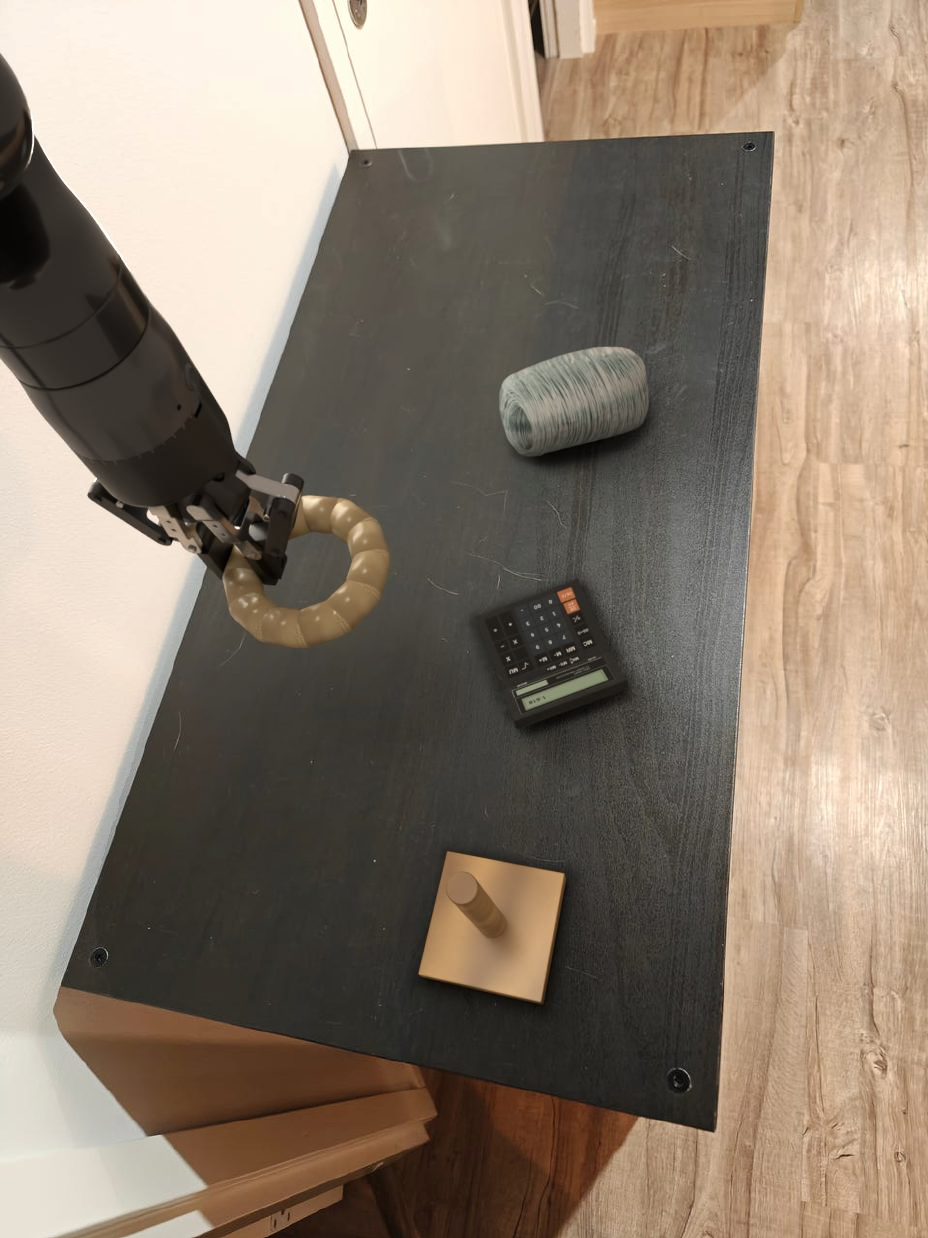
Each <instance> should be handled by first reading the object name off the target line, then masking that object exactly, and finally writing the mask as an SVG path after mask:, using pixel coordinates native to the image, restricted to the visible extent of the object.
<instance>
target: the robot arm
mask: <svg viewBox="0 0 928 1238" xmlns="http://www.w3.org/2000/svg"><path fill="white" fill-rule="evenodd" d="M34 131H35V128H34V121H33V115H32V111H31V107H30V104H29V102H28V99H27V96H26V93H25V91H24V89H23V87H22V84H21V82H20V80H19V78H18V77H17V75H16V73H15V71H14V70H13V68H12V67H11V65H10V64H9V62H8V61H7V60H6V58H5V57H4V56H3V54H2V53H1V52H0V360H1V361H2V363H3V364H4V365H5V366H6V367H7V368H8V370H9V371H10V373H12V375H13V376H14V377H15V378H16V379H17V381H18V382H19V384H20V385H21V387H22V388H23V390H24V392H25V393H26V395H27V396H28V398H29V399H30V401H31V403H32V404H33V406H34V408H36V410H37V411H38V412H39V414H40V416H41V417H42V418H43V419H44V420H45V421H46V422H47V424H48V425H49V426H50V427H51V428H52V429H53V430H54V432H55V433H56V434H57V435H58V436H59V437H60V438H61V439H62V441H63V442H64V443H65V444H66V445H67V446H68V447H69V449H70V450H71V451H72V452H73V454H74V455H76V457H77V458H78V459H79V460H80V461H81V462H82V464H83V465H84V466H85V467H86V468H87V469H88V470H89V472H90V473H91V474H92V475H93V476H94V478H93V481H92V483H91V486H90V488H89V490H88V491H87V494H86V496H87V498H88V499H89V500H90V501H91V502H93V503H95V504H96V505H98V506H99V507H101V508H102V509H104V510H105V511H107V512H109V513H110V514H112V515H113V516H115V517H116V518H118V519H120V520H122V521H123V522H124V523H126V524H127V525H128V526H130V527H132V528H133V529H135V530H136V531H138V532H140V533H141V534H143V535H144V536H146V537H147V538H149V539H150V540H152V541H153V542H155V543H157V544H158V545H160V546H163V547H164V546H165V547H170V546H172V544H173V542H177V543H180V545H181V546H182V548H183V550H185V551H187V552H188V553H191V554H195V555H197V556H198V558H199V559H200V560H201V561H202V563H203V564H204V565H205V566H206V568H207V569H208V570H209V571H211V572H213V573H214V574H215V576H216V577H217V578H218V580H220V581H223V573H224V570H225V567H226V565H227V562H228V559H229V557H230V554H231V551H232V549H233V546H234V545H235V546H236V547H237V548H238V549H239V550H240V551H241V552H242V554H243V555H245V560H246V561H247V562H248V564H249V565H250V567H251V568H252V569H253V571H254V572H255V573H256V575H257V576H258V577H259V578H260V579H261V580H262V583H263V586H264V585H265V586H272V587H273V586H274V587H276V586H277V584H278V582H279V580H282V578H283V575H284V572H285V569H286V565H287V563H288V555H287V554H286V552H287V549H288V545H289V541H290V540H289V538H290V535H291V532H292V529H293V528H294V525H295V523H296V519H297V514H298V509H299V505H300V500H301V497H302V496H303V490H304V487H305V480H304V479H303V477H301V476H300V475H298V474H295V473H291V472H287V473H285V474H283V477H282V479H281V481H276V480H273V479H271V478H267V477H265V476H261V475H258V474H257V471H256V470H257V469H256V468H255V466H254V464H253V463H252V462H251V461H250V460H248V459H247V458H245V457H244V456H243V455H241V454H240V453H239V452H238V451H237V450H236V448H235V444H234V441H233V440H234V439H233V435H232V431H231V427H230V426H231V425H230V423H229V420H228V418H227V416H226V414H225V412H224V411H223V409H222V407H221V406H220V404H219V402H218V401H217V399H216V397H215V396H214V394H213V392H212V391H211V389H210V388H209V385H208V383H207V382H206V381H205V379H204V378H203V376H202V374H201V373H200V371H199V370H198V368H197V366H196V365H195V363H194V361H193V359H192V358H191V356H190V355H189V353H188V352H187V350H186V348H185V346H184V345H183V344H182V343H183V342H181V340H180V338H179V336H178V335H177V334H176V332H175V330H174V329H173V327H172V326H171V324H169V322H168V321H167V320H166V319H165V317H164V316H163V315H162V313H161V312H160V311H159V310H158V309H157V308H156V307H155V306H154V305H153V303H152V302H151V300H150V299H149V297H148V296H147V295H146V294H145V292H144V290H143V289H142V287H141V286H140V283H139V282H138V281H137V279H136V278H135V276H134V274H133V273H132V271H131V270H130V268H129V266H128V265H127V263H126V261H125V259H124V258H123V256H122V255H121V253H120V252H119V250H118V249H117V247H116V245H115V244H114V242H113V241H112V240H111V237H110V236H109V235H108V233H107V232H106V231H105V229H104V228H103V226H102V225H101V224H100V223H99V221H98V220H97V218H96V217H95V216H94V215H93V213H92V212H91V211H90V210H89V209H88V208H87V206H86V205H85V204H84V203H83V202H82V200H81V199H80V198H79V197H78V195H76V194H75V192H74V191H73V190H72V189H71V188H70V187H69V185H68V184H67V183H66V182H65V180H64V178H62V176H61V175H60V174H59V172H58V170H57V169H56V168H55V166H54V164H53V163H52V161H51V160H50V158H49V157H48V154H47V152H46V151H45V149H44V147H43V146H42V144H41V143H40V141H39V139H38V138H37V136H36V134H35V132H34ZM148 512H150V514H151V515H152V516H154V517H155V516H156V518H157V520H158V522H157V523H156V522H155V521H153V520H151V519H150V518H149V517H148ZM250 525H251V527H250ZM249 528H250V529H249Z"/></svg>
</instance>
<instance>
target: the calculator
mask: <svg viewBox="0 0 928 1238" xmlns="http://www.w3.org/2000/svg"><path fill="white" fill-rule="evenodd" d="M475 620H476V622H477V625H478V629H479V631H480V634H481V637H482V639H483V642H484V644H485V647H486V650H487V652H488V656H489V658H490V661H491V663H492V666H493V669H494V671H495V674H496V677H497V680H498V682H499V686H500V688H501V691H502V693H503V696H504V699H505V701H506V705H507V707H508V710H509V713H510V716H511V718H512V720H513V724H514V726H515V728H516V730H519V729H523V728H525V727H528V726H531V725H534V724H536V723H538V722H541V721H544V720H547V719H549V718H553V717H555V716H558V715H560V714H563V713H566V712H568V711H571V710H574V709H576V708H577V709H578V708H579V707H583V706H585V705H587V704H591V703H593V702H596V701H599V700H601V699H604V698H607V697H611V696H612V695H615V694H618V693H621V692H623V691H626V690H629V689H630V686H629V682H628V679H627V677H626V675H625V674H624V672H623V671H622V669H621V667H620V666H619V664H618V662H617V661H616V659H615V656H614V655H613V653H612V652H611V650H610V647H609V645H608V643H607V641H606V639H605V636H604V634H603V631H602V630H601V628H600V625H599V623H598V621H597V618H596V616H595V614H594V611H593V609H592V607H591V605H590V603H589V600H588V599H587V596H586V594H585V591H584V589H583V586H582V584H581V583H580V580H579V578H577V579H574V580H571V581H568V582H566V583H563V584H560V585H557V586H555V587H552V588H549V589H547V590H544V591H541V592H537V593H535V594H533V595H531V596H527V597H525V598H522V599H520V600H517V601H514V602H511V603H508V604H506V605H503V606H500V607H497V608H495V609H491V610H489V611H487V612H484V613H481V614H479V615H476V616H475Z"/></svg>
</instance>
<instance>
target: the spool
mask: <svg viewBox="0 0 928 1238" xmlns="http://www.w3.org/2000/svg"><path fill="white" fill-rule="evenodd" d="M646 371H647V370H646V365H645V364H644V361H643V359H642V358H641V357H640V356H639V355H638V354H637V353H635V352H634V351H633V350H632V349H631V348H626V347H622V346H610V345H609V346H595V347H590V348H586V349H581V350H575V351H572V352H567V353H564V354H560V355H558V356H554V357H552V358H549V359H546V360H543V361H540V362H538V363H536V364H533V365H530V366H527V367H525V368H522V369H521V370H519V371H517V372H514V373H511V374H510V375H508V376H507V377H506V378H505V379H504V380H503V382H502V384H501V386H500V390H499V395H498V408H499V416H500V421H501V425H502V428H503V430H504V433H505V436H506V438H507V440H508V443H509V444H510V445H511V446H512V448H513V449H514V450H515V451H516V452H517V453H518V454H519V455H521V456H523V457H525V458H526V457H542V456H543V455H545V454H547V453H552V452H557V451H560V450H563V449H568V448H572V447H576V446H580V445H583V444H587V443H593V442H596V441H597V442H598V441H600V440H604V439H609V438H613V437H614V436H618V435H623V434H626V433H629V432H631V431H634V430H635V429H637V428H640V426H642V425H643V424H644V422H645V419H646V417H647V414H648V411H649V405H650V400H649V385H648V376H647V372H646Z"/></svg>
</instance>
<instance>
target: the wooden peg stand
mask: <svg viewBox="0 0 928 1238" xmlns="http://www.w3.org/2000/svg"><path fill="white" fill-rule="evenodd" d="M439 880H440V881H439V885H438V889H437V892H436V896H435V897H436V898H435V901H434V906H433V909H432V915H431V919H430V922H429V927H428V931H427V936H426V940H425V943H424V947H423V953H422V956H421V961H420V965H419V970H418V975H419V976H420V977H422V978H425V979H428V980H432V981H437V982H441V983H446V984H450V985H455V986H459V987H463V988H467V989H472V990H476V991H480V992H485V993H488V994H489V993H490V994H494V995H498V996H502V997H506V998H510V999H515V1000H518V1001H519V1000H520V1001H525V1002H529V1003H531V1004H532V1003H533V1004H537V1005H542V1006H543V1005H544V1004H545V1000H546V994H547V988H548V983H549V977H550V971H551V966H552V965H551V964H552V960H553V955H554V949H555V944H556V937H557V931H558V927H559V922H560V917H561V910H562V906H563V905H562V904H563V898H564V892H565V889H566V882H567V877H566V874H565V873H564V872H559V871H553V870H548V869H542V868H538V867H533V866H527V865H522V864H517V863H511V862H507V861H502V860H496V859H491V858H486V857H481V856H475V855H471V854H470V855H469V854H465V853H460V852H454V851H448V850H447V851H446V855H445V859H444V863H443V868H442V872H441V876H440V879H439Z"/></svg>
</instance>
